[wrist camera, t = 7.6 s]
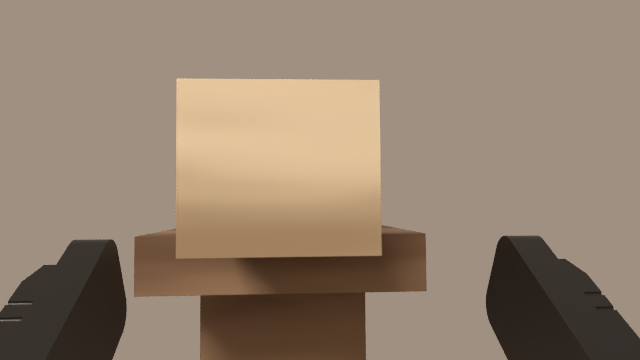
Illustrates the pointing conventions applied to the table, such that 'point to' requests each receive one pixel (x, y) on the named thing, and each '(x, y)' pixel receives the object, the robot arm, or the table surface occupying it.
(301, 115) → the beech bar
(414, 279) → the walnut pedestal
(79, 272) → the robot arm
